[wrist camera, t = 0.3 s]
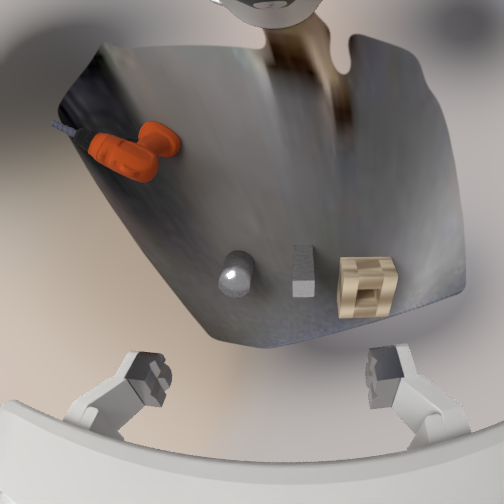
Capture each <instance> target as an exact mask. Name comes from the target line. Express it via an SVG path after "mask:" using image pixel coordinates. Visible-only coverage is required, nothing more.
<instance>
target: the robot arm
mask: <svg viewBox="0 0 504 504" xmlns="http://www.w3.org/2000/svg"><path fill="white" fill-rule="evenodd" d="M210 1H212V2H214V3H216V4H219V5H222V6H225V7H226V8H227V9H228V10H230V11H231V12H232V13H233V14H234V15H235V16H236V17H237V18H239V19H240V20H242V21H243V22H246V23H248V24H250V25H253V26H257V27H260V28H268V29H277V28H285V27H289V26H293V25H295V24H298V23H300V22H302V21H303V20H305V19H306V18H308V17H309V16H310V15H311V14H312V13H313V12H314V11H315V10H316V8H317V7H318V5H319V4H320V2H321V1H322V0H210ZM164 362H165V358H164V356H163V355H162V354H159V353H150V352H139V351H130V352H129V353H128V354H127V355H126V357H125V359H124V361H123V362H122V364H121V366H120V367H119V369H118V371H117V373H116V374H115V376H114V377H110V378H109V379H107V380H105V381H104V382H103V383H101V384H99V385H98V386H96V387H95V388H93V389H92V390H90V391H89V392H87V393H85V394H84V395H82V396H81V397H79V398H78V399H76V400H75V401H74V402H73V403H72V405H71V407H70V408H69V410H68V412H67V414H66V415H65V417H64V419H63V421H61V420H59V419H56V418H54V417H52V416H50V415H47V414H45V413H43V412H40V411H38V410H36V409H34V408H32V407H29V406H27V405H25V404H23V403H21V402H19V401H17V400H11V401H8V402H6V403H4V404H2V405H0V504H504V421H502V422H500V423H497V424H495V425H492V426H489V427H487V428H484V429H481V430H479V431H476V432H473V433H471V430H470V426H469V423H468V420H467V417H466V414H465V411H464V408H463V406H462V405H461V404H460V403H458V402H457V401H456V400H454V399H453V398H452V397H450V396H449V395H448V394H447V393H445V392H444V391H443V390H441V389H440V388H439V387H437V386H436V385H435V384H434V383H432V382H431V381H430V380H429V379H427V378H426V377H425V376H423V375H418V372H417V369H416V366H415V363H414V360H413V357H412V354H411V351H410V348H409V345H408V344H407V343H405V344H399V345H391V346H384V347H377V348H370V349H369V351H368V362H367V363H366V375H365V376H366V385H367V387H368V388H369V394H368V397H369V404H370V409H376V408H385V407H391V408H392V409H393V410H394V411H395V412H396V413H397V414H398V416H399V417H400V418H401V419H402V420H403V421H404V422H405V423H406V424H407V425H408V427H409V428H410V429H411V430H412V431H413V432H414V433H415V434H416V436H415V437H414V439H413V440H412V442H411V444H410V445H409V447H408V448H407V450H406V451H402V452H397V453H391V454H385V455H379V456H372V457H364V458H356V459H348V460H336V461H321V462H295V463H294V462H289V463H288V462H287V463H286V462H251V461H237V460H226V459H216V458H208V457H200V456H193V455H187V454H181V453H175V452H169V451H165V450H160V449H155V448H150V447H146V446H141V445H137V444H133V443H130V442H126V441H124V438H123V437H122V436H121V435H120V434H119V432H118V430H119V429H120V428H121V427H122V426H123V425H124V424H126V423H127V422H128V421H129V420H130V419H131V418H132V417H133V416H134V415H136V414H137V413H138V412H139V411H140V410H141V409H142V408H143V407H144V405H147V406H155V407H162V405H163V403H164V400H165V398H166V393H165V390H167V389H168V388H169V387H170V385H171V382H172V372H171V369H170V368H169V366H168V365H166V364H165V363H164Z"/></svg>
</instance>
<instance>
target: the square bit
mask: <svg viewBox="0 0 504 504" xmlns="http://www.w3.org/2000/svg"><path fill="white" fill-rule="evenodd" d="M314 286H315V277H314V260H313V246H312V245H298V246H294V255H293V297H314Z"/></svg>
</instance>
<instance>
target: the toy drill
mask: <svg viewBox="0 0 504 504" xmlns="http://www.w3.org/2000/svg"><path fill="white" fill-rule="evenodd" d="M51 125H52V126H53V127H55V128H57V129H59V130H61V131H63V132H65V133H66V134H68V135H70V136H71V137H74V142H75V143H76V144H77V145H79V146H81V147H82V148H83V149H85V150H86V151H88V154H90V155H92V157H93V158H94V159H95V160H96V161H97V162H99V163H101V164H103V165H104V166H106V167H108V168H110V169H112V170H114V171H116V172H117V173H119V174H121V175H123V176H126V177H128V178H130V179H132V180H136V181H139V182H143V183H145V182H149V181H150V180H152V179H153V177H154V176H155V175H156V173H157V170H158V165H159V163H158V158H157V157H158V156H162V157H172V156H174V155H175V154H176V153H177V152H178V151H179V149H180V147H181V141H180V138H179V137H178V136H177V134H176V133H174V132H173V131H172V130H171V129H169V128H168V127H166V126H164V125H163V124H161V123H158V122H154V121H150V122H147V123H145V124H144V125H143V126H142V127H141V129H140V132H139V140H134V139H127V140H124V139H121V138H118V137H116V136H113V135H110V134H103V133H95V132H93V131H89V130H87V129H85V128H82V129H78V130H75V129H74V128H69V127H68V126H66V125H64V124H62V123H59V122H57V121H55V120H53V121H52V122H51Z"/></svg>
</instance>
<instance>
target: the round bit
mask: <svg viewBox="0 0 504 504" xmlns="http://www.w3.org/2000/svg"><path fill="white" fill-rule="evenodd" d="M253 269H254V259H253V258H252V256H251V255H250V254H248V253H247V252H244V251H233V252H231V253H230V254H229V255H228V256H227V258H226V261H225V264H224V267H223V270H222V273H221V276H220V279H219V282H218V286H219V288H220V290H221V291H222V292H223V293H224V294H225V295H227V296H229V297H234V298H239V297H243V296H245V295H246V294H247V293H248V291H249V288H250V284H251V279H252V274H253Z"/></svg>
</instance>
